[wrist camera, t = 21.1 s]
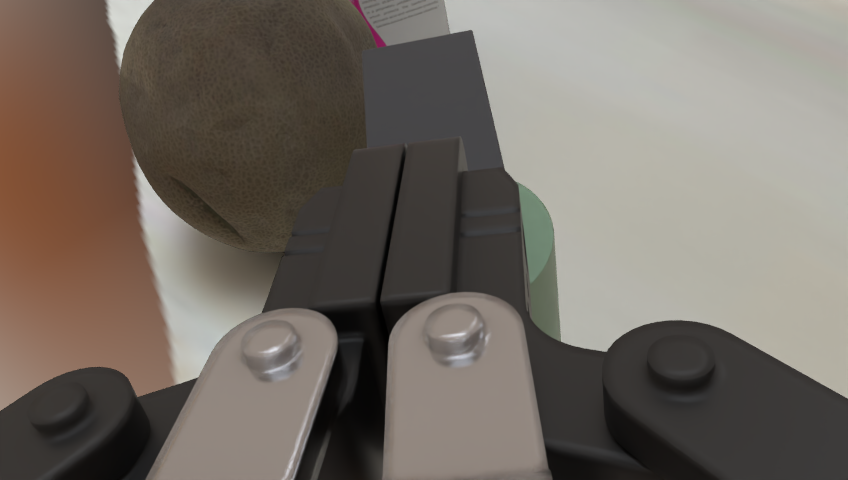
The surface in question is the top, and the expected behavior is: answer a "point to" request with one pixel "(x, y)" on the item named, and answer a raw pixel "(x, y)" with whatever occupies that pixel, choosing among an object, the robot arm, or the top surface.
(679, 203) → the top surface
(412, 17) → the supplement box
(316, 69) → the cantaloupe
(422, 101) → the spray bottle
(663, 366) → the robot arm
